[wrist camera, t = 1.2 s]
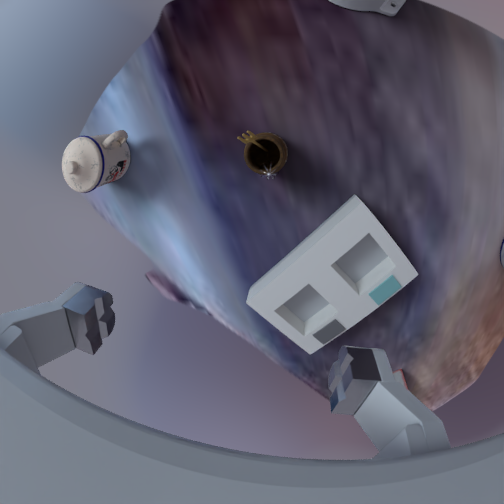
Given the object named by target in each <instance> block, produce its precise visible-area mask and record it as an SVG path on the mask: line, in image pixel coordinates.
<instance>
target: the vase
mask: <svg viewBox="0 0 504 504" xmlns="http://www.w3.org/2000/svg"><path fill="white" fill-rule="evenodd" d="M500 261H501V264H502V266H503V268H504V239H503V242H502V245H501V250H500Z"/></svg>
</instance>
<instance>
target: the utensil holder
mask: <svg viewBox="0 0 504 504" xmlns="http://www.w3.org/2000/svg"><path fill="white" fill-rule="evenodd" d="M247 133H248V134H250V135H251V136H247V135H246V134H242V136H244V137H245V138H247V139H243V138H241V137H238V139H239V140H241V141H242V142H244V143H245V144H246V146H245V150H244V159H245V162H246V164H247V166H248V167H249V168H250V169H251V170H252V171H254V172H256V173H258V174H263V175H266V176H267V175H270V174H273V175H276V174H274V173H275V172H277V171H278V174H279V170H280V169H281V168H282V167H283V166H284V164H285V163H286V160H287V156H288V150H287V146H286V144H285V142H284V141H283V139H282V138H281V137H279V136H278V135H276V134H273V133H259V134H257V135H254V134H253V133H252V132H250V131H249V130H248V131H247ZM270 176H271V175H270ZM261 177H262V176H261ZM263 177H265V176H263ZM271 177H272V176H271ZM268 178H269V177H268ZM272 178H273V177H272ZM273 179H275V178H273Z"/></svg>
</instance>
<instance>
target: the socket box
mask: <svg viewBox="0 0 504 504" xmlns="http://www.w3.org/2000/svg"><path fill="white" fill-rule="evenodd" d="M417 275H419V274H418V273H417V271H416V270H415V269H414V267H413V266H412V264H411V263H410V262H409V260H408V259H407V257H406V256H405V255H404V253H403V252H402V251H401V249H400V248H399V247H398V245H397V244H396V243H395V241H394V240H393V239H392V238H391V236H390V235H389V234H388V232H387V231H386V230H385V229H384V227H383V226H382V225H381V224H380V222H379V221H378V220H377V219H376V217H375V216H374V215H373V214H372V213H371V211H370V210H369V209H368V208H367V207H366V205H365V204H364V203H363V202H362V201H361V200H360V199H359V198H358V197H357V196H356V195H355V194H354V195H353V196H352V197H351V198H350V199H349V200H348V201H347V202H345V203H344V204H343V205H342V206H341V207H340V208H339V209H338V210H337V211H336V212H335V213H333V214H332V215H331V216H330V217H329V218H328V219H327V220H326V221H325V222H323V223H322V224H321V225H320V226H319V227H318V228H317V229H316V230H315V231H313V232H312V233H311V234H310V235H309V236H308V237H307V238H306V239H305V240H303V241H302V242H301V243H300V244H299V245H298V246H297V247H296V248H294V249H293V250H292V251H291V252H290V253H289V254H288V255H287V256H285V257H284V258H283V259H282V260H281V261H280V262H279V263H277V264H276V265H275V266H274V267H273V268H272V269H271V270H269V271H268V272H267V273H266V274H265V275H264V276H263V277H261V278H260V279H259V280H258V281H257V282H256V283H254V284H253V285H252V286H251V287H250V290H249V294H248V298H247V301H246V303H247V304H248V305H249V306H251V307H252V308H253V309H254V310H255V311H257V312H258V313H259V314H260V315H261V316H263V317H264V318H265V319H266V320H268V321H269V322H270V323H271V324H272V325H274V326H275V327H276V328H277V329H279V330H280V331H281V332H282V333H284V334H285V335H286V336H287V337H289V338H290V339H291V340H292V341H294V342H295V343H296V344H297V345H299V346H300V347H301V348H302V349H304V350H305V351H306V352H308V353H309V354H312V353H313V352H315V351H317V350H318V349H320V348H321V347H323V346H324V345H326V344H327V343H329V342H330V341H332V340H333V339H335V338H336V337H338V336H339V335H341V334H342V333H343V332H345V331H346V330H348V329H349V328H351V327H352V326H353V325H355V324H356V323H358V322H359V321H360V320H362V319H363V318H365V317H366V316H367V315H369V314H370V313H371V312H373V311H374V310H375V309H377V308H378V307H379V306H380V305H382V304H383V303H384V302H386V301H387V300H388V299H389V298H391V297H392V296H393V295H394V294H396V293H397V292H398V291H399V290H401V289H402V288H403V287H404V286H406V285H407V284H408V283H409V282H410V281H411V280H413V279H414V278H415V277H416V276H417Z"/></svg>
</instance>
